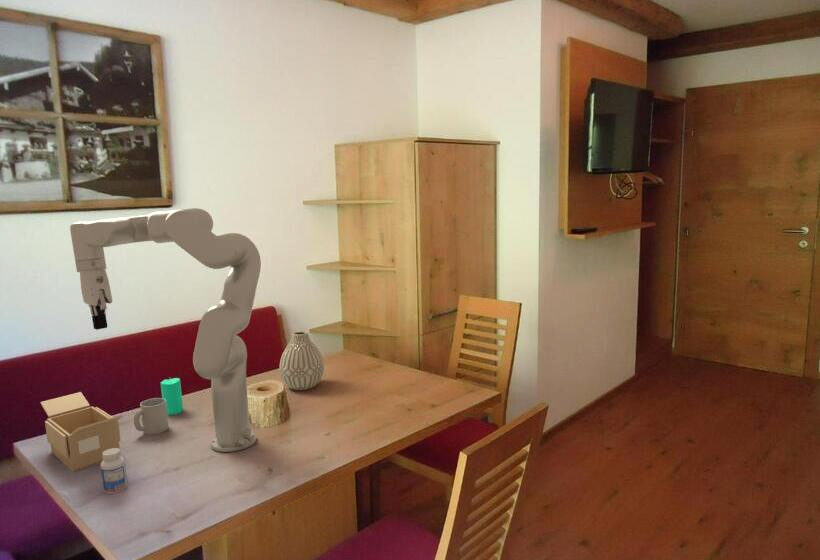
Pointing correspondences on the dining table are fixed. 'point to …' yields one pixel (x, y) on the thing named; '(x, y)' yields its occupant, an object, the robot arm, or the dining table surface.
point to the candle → (172, 395)
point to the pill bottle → (113, 471)
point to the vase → (301, 363)
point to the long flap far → (64, 404)
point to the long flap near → (96, 425)
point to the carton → (81, 437)
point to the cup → (152, 416)
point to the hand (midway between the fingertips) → (100, 328)
